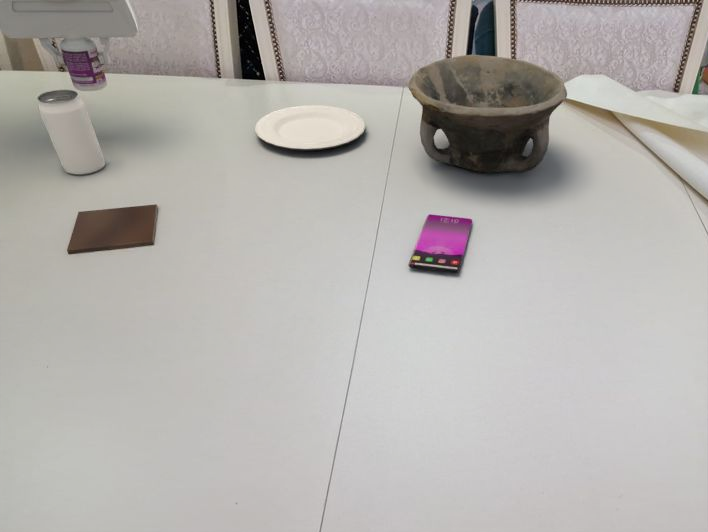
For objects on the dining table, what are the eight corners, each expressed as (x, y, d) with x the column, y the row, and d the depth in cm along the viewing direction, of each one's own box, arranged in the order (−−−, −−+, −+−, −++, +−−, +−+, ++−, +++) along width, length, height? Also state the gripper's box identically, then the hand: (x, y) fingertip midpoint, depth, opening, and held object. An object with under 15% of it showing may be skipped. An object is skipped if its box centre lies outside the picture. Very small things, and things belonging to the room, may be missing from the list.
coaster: (68, 254, 86) (66, 250, 85) (79, 215, 93) (78, 211, 93) (153, 244, 88) (152, 241, 88) (157, 207, 96) (156, 204, 96)
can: (65, 161, 106) (36, 90, 98) (107, 157, 108) (82, 87, 100) (62, 178, 102) (31, 105, 94) (105, 173, 103) (79, 101, 95)
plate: (347, 163, 111) (347, 153, 109) (237, 150, 112) (235, 140, 111) (378, 120, 126) (377, 110, 125) (280, 109, 128) (279, 100, 127)
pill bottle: (107, 91, 107) (89, 30, 101) (73, 93, 106) (52, 32, 99) (108, 80, 111) (90, 22, 105) (75, 82, 109) (55, 22, 103)
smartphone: (407, 269, 87) (407, 264, 86) (427, 217, 98) (427, 212, 97) (458, 276, 86) (458, 270, 85) (472, 222, 97) (472, 217, 97)
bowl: (407, 194, 103) (405, 104, 93) (412, 130, 123) (411, 50, 113) (564, 198, 105) (579, 110, 95) (544, 135, 125) (555, 56, 115)
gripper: (-28, -25, 92) (11, 72, 101) (122, -23, 97) (146, 69, 106) (-17, -33, 96) (19, 60, 105) (126, -31, 102) (149, 57, 111)
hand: (84, 64), depth 106 cm, fingers closed on pill bottle, 5 cm apart
